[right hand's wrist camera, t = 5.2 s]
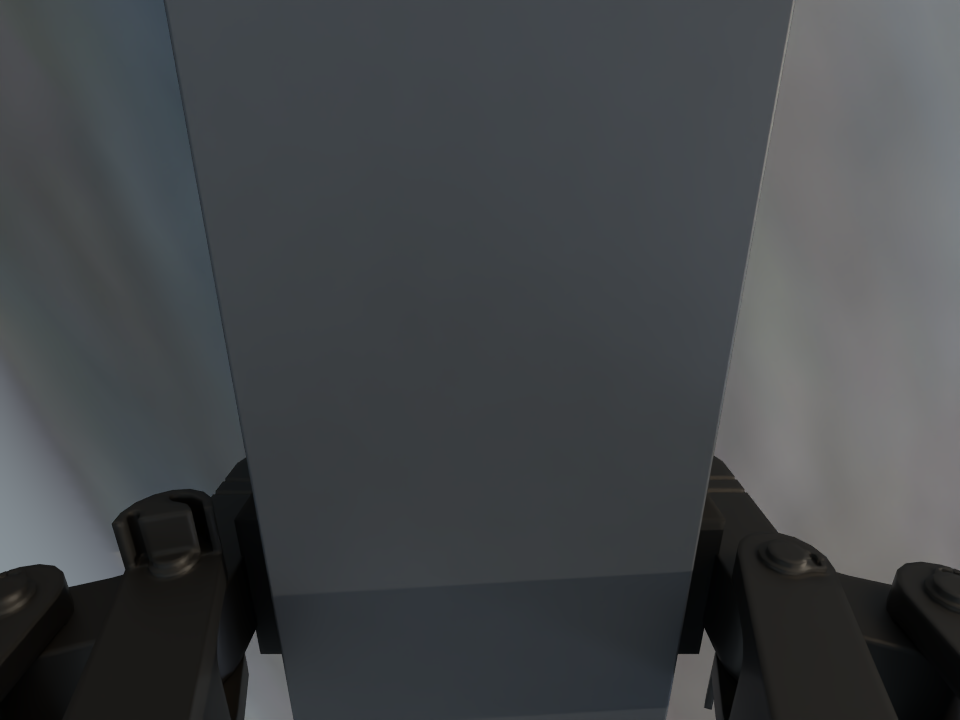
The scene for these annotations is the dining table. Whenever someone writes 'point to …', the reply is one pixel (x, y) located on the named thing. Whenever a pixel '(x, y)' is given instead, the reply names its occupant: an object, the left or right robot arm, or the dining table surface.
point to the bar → (479, 328)
